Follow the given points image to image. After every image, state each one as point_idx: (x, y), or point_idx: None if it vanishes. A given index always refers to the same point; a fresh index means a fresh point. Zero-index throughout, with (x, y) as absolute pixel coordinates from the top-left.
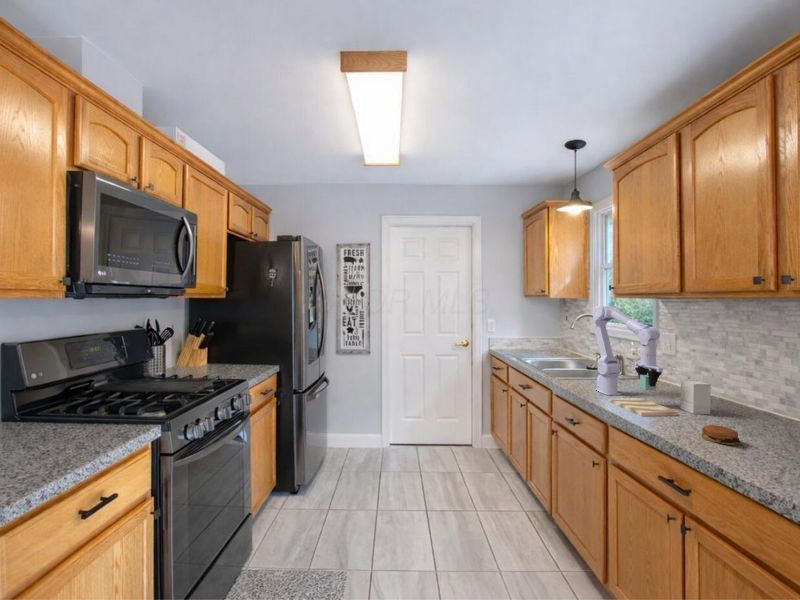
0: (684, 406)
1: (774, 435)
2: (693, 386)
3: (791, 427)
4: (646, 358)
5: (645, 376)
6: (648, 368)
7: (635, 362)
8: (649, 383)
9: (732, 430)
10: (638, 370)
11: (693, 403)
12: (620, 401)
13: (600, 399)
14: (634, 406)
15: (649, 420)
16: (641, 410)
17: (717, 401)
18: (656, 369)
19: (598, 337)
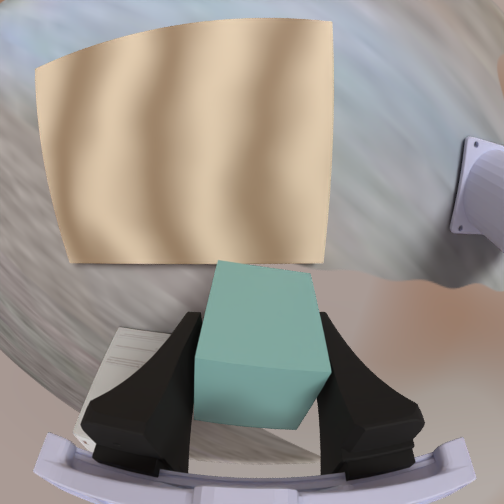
0: (156, 344)
1: (11, 348)
2: (77, 423)
3: None
4: None
5: (217, 367)
6: (232, 482)
7: (462, 478)
8: (191, 325)
9: None
10: (351, 408)
11: (103, 359)
12: (252, 49)
13: (386, 17)
14: (126, 78)
15: (6, 81)
16: (58, 82)
17: (284, 449)
18: (96, 470)
19: None
